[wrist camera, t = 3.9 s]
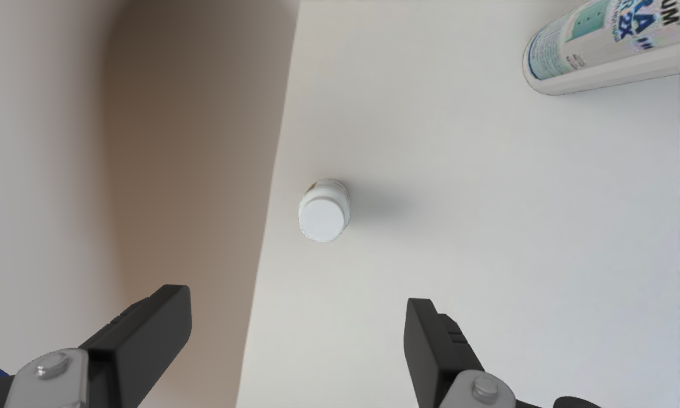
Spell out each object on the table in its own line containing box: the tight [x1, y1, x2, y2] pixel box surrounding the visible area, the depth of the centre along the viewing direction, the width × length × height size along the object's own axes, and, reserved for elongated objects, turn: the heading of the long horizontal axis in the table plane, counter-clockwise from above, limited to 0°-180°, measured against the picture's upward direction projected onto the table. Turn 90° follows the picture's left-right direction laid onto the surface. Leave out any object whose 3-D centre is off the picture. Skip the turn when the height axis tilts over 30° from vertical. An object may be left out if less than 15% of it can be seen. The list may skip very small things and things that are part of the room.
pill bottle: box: [298, 179, 350, 243], centre depth 27 cm, size 4×4×8 cm
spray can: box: [523, 0, 680, 95], centre depth 18 cm, size 6×6×20 cm
